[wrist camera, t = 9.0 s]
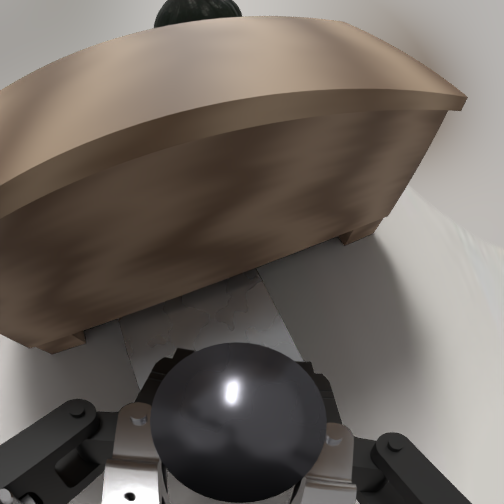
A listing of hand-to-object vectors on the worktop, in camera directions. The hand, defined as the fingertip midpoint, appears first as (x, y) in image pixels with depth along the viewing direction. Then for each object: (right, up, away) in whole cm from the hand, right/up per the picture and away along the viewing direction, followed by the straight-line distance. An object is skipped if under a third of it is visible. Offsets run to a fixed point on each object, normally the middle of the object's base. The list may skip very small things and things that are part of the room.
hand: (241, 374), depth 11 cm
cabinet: (-4, +6, +9) cm, 11 cm away
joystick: (-2, -1, +5) cm, 5 cm away
